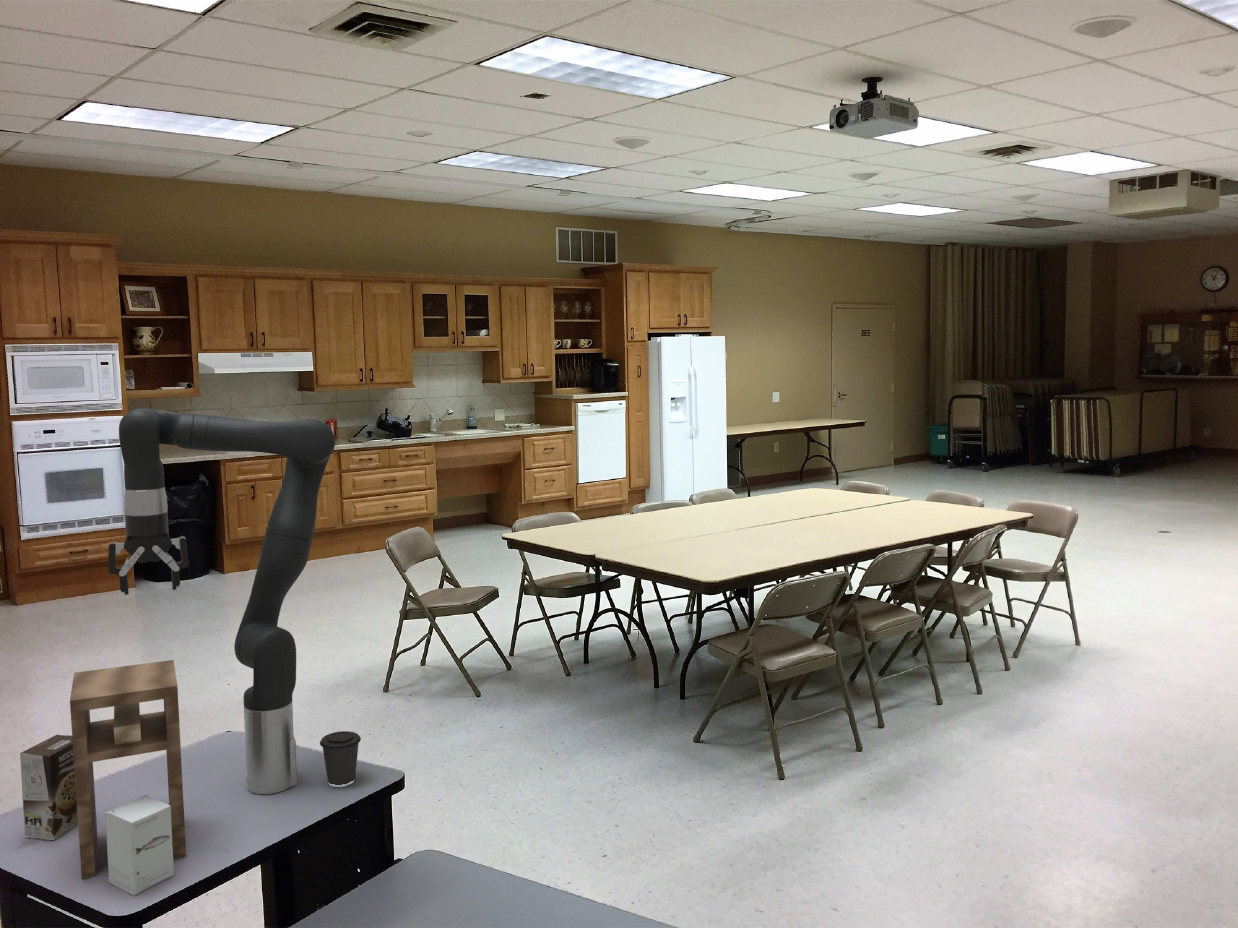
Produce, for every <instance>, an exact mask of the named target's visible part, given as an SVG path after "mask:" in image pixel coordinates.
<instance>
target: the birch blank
mask: <svg viewBox="0 0 1238 928" xmlns="http://www.w3.org/2000/svg"><path fill="white" fill-rule="evenodd" d="M140 708H141V707H140V703H134V704H127V705H120V706H113V719H114V741H115V745H117V744H123V743H129V742H135V741H141V728H140V715H141V712H140Z"/></svg>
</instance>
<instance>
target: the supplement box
mask: <svg viewBox="0 0 1238 928" xmlns="http://www.w3.org/2000/svg"><path fill="white" fill-rule="evenodd" d="M104 815H105V830H106V831H105V833H106V851H107V866H108V867H107V868H108V870H107V871H108V883H110V884H111V885H113V886H115V887H117V888H118V889H121V890H122V891H124V892H127V894H130V895H132V896H136V895H137V894H139V893H140V892H143V891H145V890H146V889H148V888H151V887H152V886H155V885H156V884H158V883H160V882H162V881H164V880H166V879H169V878H171V877H173V876H174V875H175V874H174V873H175V872H174V871H175V870H174V857H173V846H172V824H171V806H170V805H169V803H165V802H163V801H160V800H158V799H156V798H153V797H150V796H148V795H143V796H140V797H138V798H137V799H134V800H132V801H129V802H127V803H124V804H123V805H120V806H118V807H115V808H112V809H110V810H107V811H105V813H104Z"/></svg>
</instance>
